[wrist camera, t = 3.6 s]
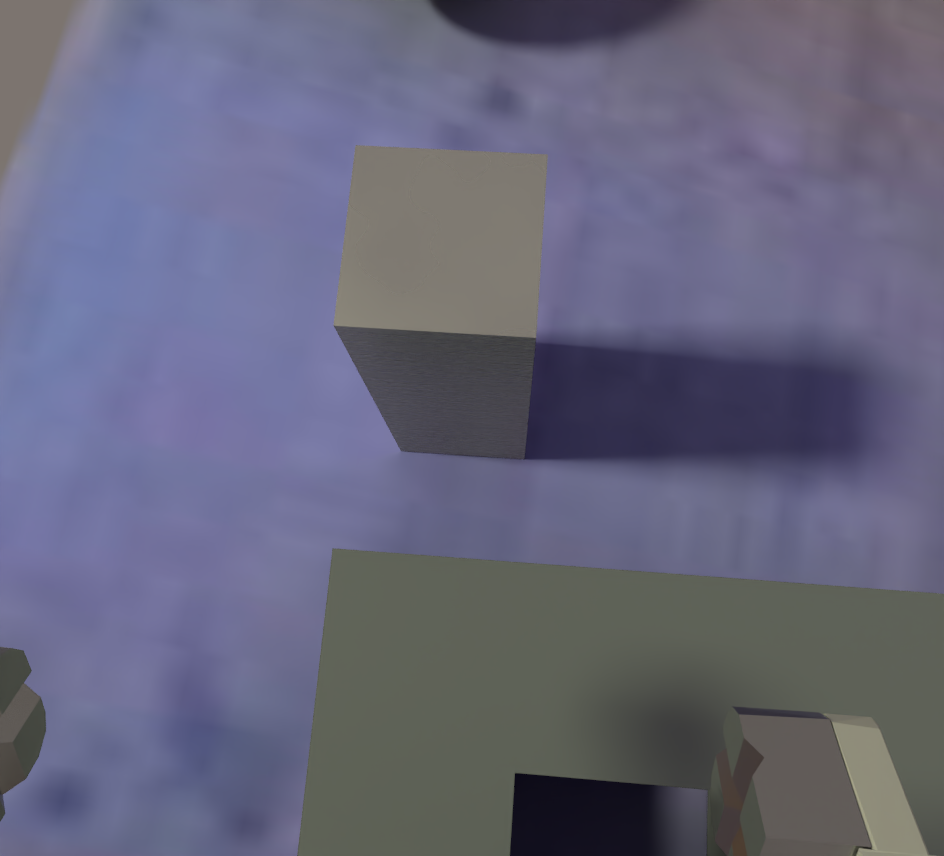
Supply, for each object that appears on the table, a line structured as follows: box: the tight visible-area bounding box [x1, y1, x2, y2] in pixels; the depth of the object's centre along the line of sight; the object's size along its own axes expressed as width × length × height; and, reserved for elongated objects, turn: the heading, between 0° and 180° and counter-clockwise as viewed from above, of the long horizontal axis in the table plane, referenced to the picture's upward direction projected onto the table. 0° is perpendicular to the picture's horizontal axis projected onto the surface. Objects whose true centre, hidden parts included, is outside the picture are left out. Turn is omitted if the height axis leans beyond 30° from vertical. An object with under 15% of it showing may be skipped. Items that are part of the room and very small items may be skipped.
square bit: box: [334, 145, 548, 459], centre depth 20 cm, size 4×4×10 cm
